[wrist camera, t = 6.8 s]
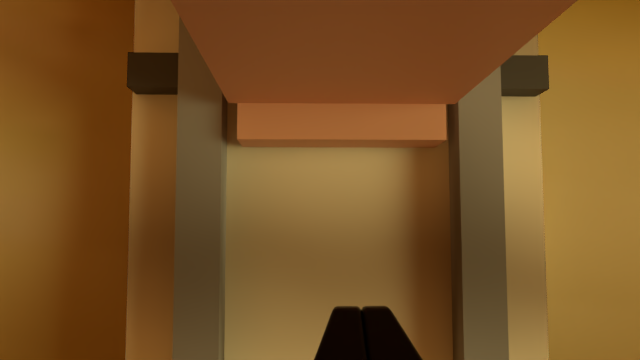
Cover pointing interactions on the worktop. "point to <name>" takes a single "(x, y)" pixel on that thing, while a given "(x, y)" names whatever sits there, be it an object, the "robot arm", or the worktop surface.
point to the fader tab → (355, 63)
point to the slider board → (329, 221)
